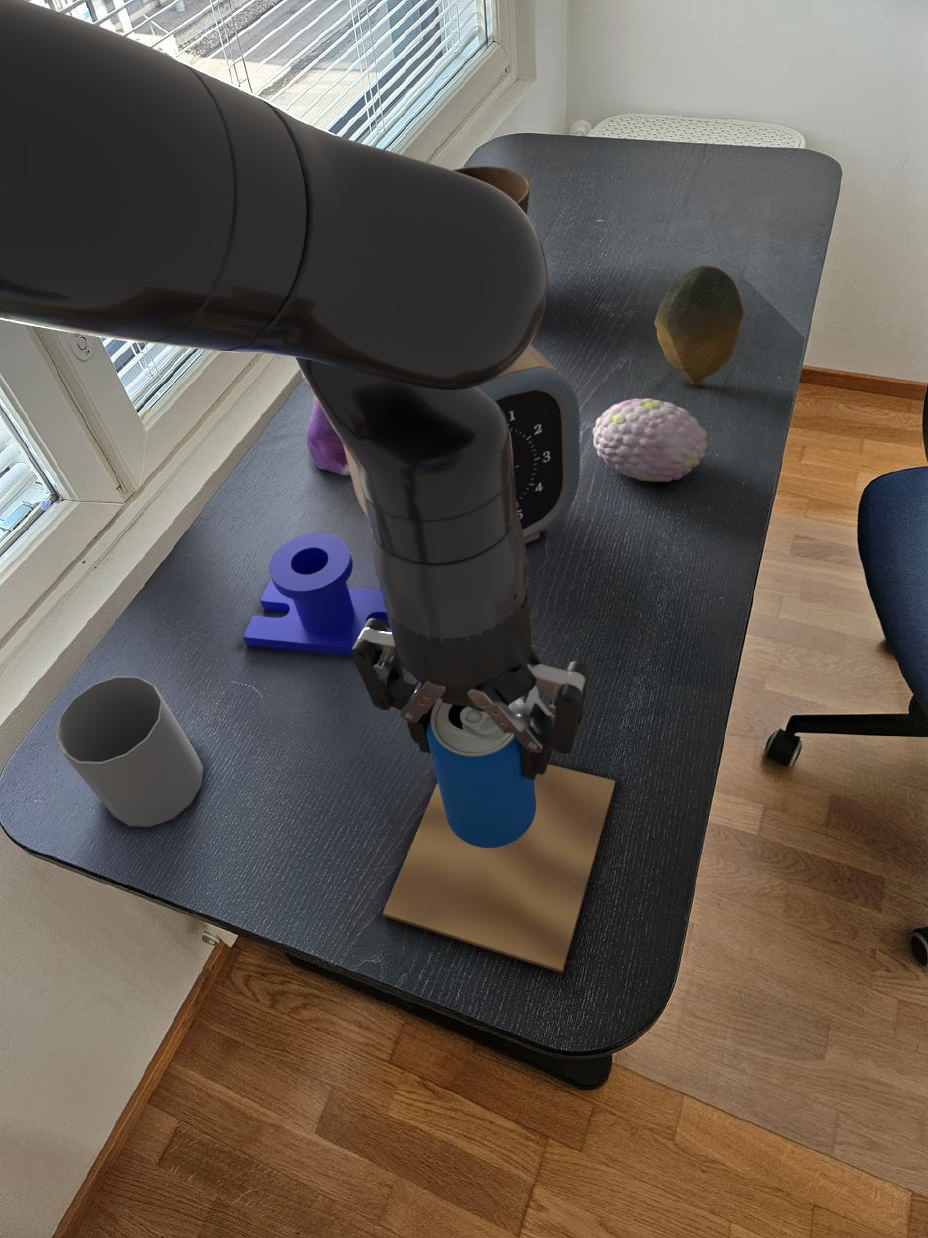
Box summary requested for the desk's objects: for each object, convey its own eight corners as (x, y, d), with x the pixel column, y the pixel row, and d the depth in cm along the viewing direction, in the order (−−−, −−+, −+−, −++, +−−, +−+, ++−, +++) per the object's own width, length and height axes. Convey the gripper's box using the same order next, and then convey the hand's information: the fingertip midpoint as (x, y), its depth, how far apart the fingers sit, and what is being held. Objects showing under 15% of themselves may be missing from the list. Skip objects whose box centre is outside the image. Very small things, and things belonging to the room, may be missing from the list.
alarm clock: (402, 601, 89) (361, 424, 72) (368, 544, 95) (323, 368, 78) (582, 527, 93) (581, 344, 77) (539, 477, 99) (530, 297, 83)
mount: (246, 645, 87) (219, 584, 80) (272, 589, 92) (248, 527, 85) (393, 660, 84) (376, 598, 77) (412, 601, 88) (398, 538, 82)
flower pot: (445, 276, 130) (431, 163, 118) (545, 281, 127) (541, 165, 115) (414, 332, 121) (396, 216, 109) (521, 339, 118) (513, 219, 106)
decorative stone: (735, 373, 108) (752, 254, 96) (730, 403, 104) (747, 283, 93) (655, 367, 110) (662, 251, 99) (647, 396, 107) (654, 278, 95)
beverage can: (480, 758, 67) (464, 659, 58) (554, 799, 64) (548, 701, 55) (428, 824, 64) (402, 729, 55) (503, 870, 61) (488, 778, 52)
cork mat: (562, 973, 63) (562, 970, 63) (383, 916, 67) (382, 913, 67) (615, 784, 73) (615, 780, 72) (455, 744, 77) (455, 740, 76)
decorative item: (705, 472, 89) (660, 382, 88) (613, 513, 96) (569, 431, 94) (727, 448, 96) (685, 364, 95) (639, 488, 103) (599, 410, 101)
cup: (170, 727, 81) (128, 659, 74) (221, 778, 77) (182, 712, 70) (90, 788, 78) (37, 724, 70) (139, 846, 74) (88, 783, 66)
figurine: (335, 418, 110) (306, 307, 99) (401, 440, 106) (379, 327, 95) (286, 463, 105) (250, 351, 94) (354, 487, 101) (325, 373, 90)
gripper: (297, 605, 45) (359, 776, 58) (570, 663, 41) (574, 833, 54) (357, 508, 50) (402, 686, 62) (609, 551, 46) (604, 733, 58)
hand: (482, 754), depth 58 cm, fingers closed on beverage can, 6 cm apart
